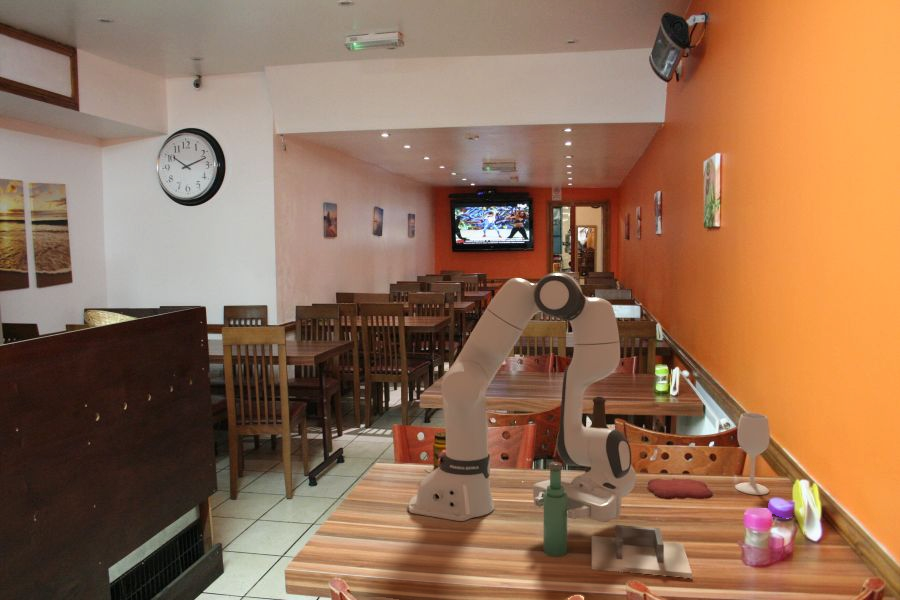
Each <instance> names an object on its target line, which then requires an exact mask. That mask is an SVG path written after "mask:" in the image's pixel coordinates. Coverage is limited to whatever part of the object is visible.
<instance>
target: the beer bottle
mask: <svg viewBox="0 0 900 600" xmlns="http://www.w3.org/2000/svg"><path fill="white" fill-rule="evenodd" d="M592 402H593V407H592V420H591V424H590V426H589V427H591V428H605V429H610V428H609V427H608V425H607V418H606V402H607V400H606V398H604V396H603V397H602V396H595V397H593V398H592ZM590 470H591V467H588V466H584V472H585V473H586V472H589V471H590Z"/></svg>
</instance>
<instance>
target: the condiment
mask: <svg viewBox="0 0 900 600" xmlns="http://www.w3.org/2000/svg"><path fill="white" fill-rule="evenodd" d="M433 437H434V440H433V441H434V442H433V444H432V446H433V448H432V449H433V451H432V452H433V454H432V457H433V458H432V461H433V463H432V465H433V468H429V469H425V470H424V471H426V472H428V474H430V473H432V472H433V471H434V470H436V469H437V468H438V467H439V465H438V459H439V456H440V453H441V452H442V450H446V432H438V433H435V434H434V436H433Z"/></svg>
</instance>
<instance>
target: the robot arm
mask: <svg viewBox="0 0 900 600" xmlns="http://www.w3.org/2000/svg"><path fill="white" fill-rule="evenodd" d="M540 312H541V313H542V314H544V315H546V316H548V317H551V318H555V319H560V320H564V321H568V322H569V323H570V326H571V330H572V337H573V340H572V341H573V354H572V359H571V361H570V363H569V364H568V365H567V366H566V368H565V370H564V374H563V378H562V389H561V390H562V391H561V405H560V421H559V427H558V428H559V429H558V432H557V437H556V442H555V444H556V450H557V454H558V456H559V457H560V459H561V460H562V462H563V463H564V464H566V465H568V466H570V467H571V466H572V467H573V466H574V467H585V466H588V467H591V470H590V471H589V472H586V473H581V474H579V475H578V476H575V477H574V478H572V480H571V482H566V481H563V480H561V486H563V487H564V493H566V494H567V518H570V519H572V520H575V519H577V518H587V519H590V520H593V521H597V522H599V523H600V522H601V523H607V522H610V521H612V520H614V519H615V518H617V517H619V516H621V512H622V511H621V510H622V499H624V498H625V497H627V496H628V495H629V494H630V493H631V492H632V491H633V489H634V487H635V486H636V482H637V473H636V470H635V469H634V467H633V465H632V450H631V445H630V443H629V442H628V439H627V438H626V436H625V434H624V433H623V432H621V430H618V429H614V428H613V429H612V428H609V429H605V428H591V427H590V426H584V424H583V422H582V421H583V420H582V419H583V409H584V407H583V406H584V395H585V392H586V389H587V388H588V387H589V386H590V385H592V384H594V383H596V382H598V381H601V380H603V379H605V378H607V377H609V376H610V375H612V373H614V372H615V370H616V369H617V368H618V366H619V365H620V362H621V346H620V345H621V344H620V334H619V327H618V322H617V319H616V314H615V311H614V307H613V305H612V303H611V302H610V301H608V300H606V299H604V298H602V297H589V296H586V295H584V294H583V288H582V286H581V283H580V282H579V281H578V280H577V279H576V278H575V277H574V276H573V275H571V274H569V273H567V272H550V273H548V274H546V275H544V276H542V277H541V278H540V279H539V280H538V281H537V283H533V282H530V281H529V280H527V279H524V278H520V277H514V278H510V279H508V280H507V281H506V282H505V283H504V284H503V285H502V286H501V288H500V289H499V290H498V291H497V293H496V294H495V295H494V296H493V298H492V299H491V301H490V302H489V304H488V305H487V307H486V309H485V310H484V312H483V313H482V315H481V316H480V318H479V319H478V321H477V323H476V325H475V326H474V328H473V330H472V332H471V333H470V335H469V337H468V339H467V340H466V342H465V344H464V345H463V347H462V349H461V351H460V352H459V354H458V356H457V357H456V359H455V361H454V362H453V364H452V365H451V366H450V368H449V369H448V370H447V371H446V372H445V373H444V375H443V376H442V380H441V394H442V395H441V397H442V407H443V414H444V415H443V416H444V421H445V422H444V423H445V433H446V450H442V452H441V453H440V456H439V459H438V465H439V467H438V468H437V469H436V470H434V471H433V472H432V473H428V474H427V475H426V476H425V477H424V478H423V479H422V480H421V481H420V484H419V485H418V489H417V493H416V494H415V495H413V496H412V498H410V500H409V502H408V511H409V512H410V513H411V514H416V515H422V516H427V517H434V518H440V519H444V520H451V521H457V522H464V521H467V520H470V519H472V518H477V517H482V516H486V515H488V514H490V513H491V512H493V510H494V509H495V503H494V500H493V496H492V490H491V484H490V475H491V458H490V453H489V423H488V416H487V402H486V401H487V400H486V399H487V398H486V396H487V395H486V394H487V390H488V387H489V386H490V384H491V382H492V381H493V380H494V378H495V376H497V373H498V372H499V370H500V369H501V367H502V366H503V364H504V362H505V361H506V359H507V358H508V356H509V354H510V353H511V351H512V350H513V348H515V345H516V343H517V342H518V340H519V339H520V337H521V335H522V334H523V333H524V331H525V329H526V327H527V326H528V324H529V323H530V321H531V320H532V318H533V317H534V316H535V315H536V314H538V313H540ZM549 485H550V478H549V479H546V480H542V481H538V482H535V483H534V484H533V486H532V496H533V497H532V498H533V506H535V507H539V508H541V507H544V493H545V492H547V486H549Z"/></svg>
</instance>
